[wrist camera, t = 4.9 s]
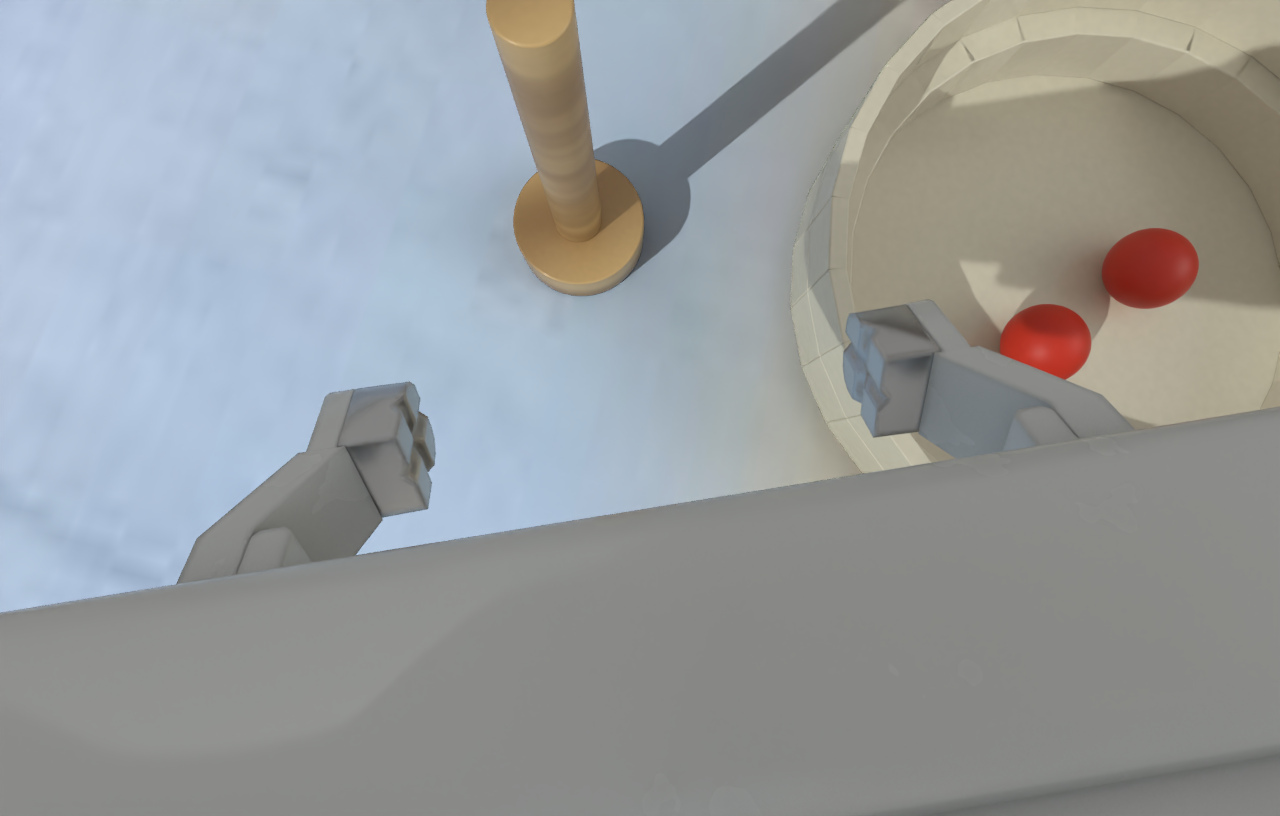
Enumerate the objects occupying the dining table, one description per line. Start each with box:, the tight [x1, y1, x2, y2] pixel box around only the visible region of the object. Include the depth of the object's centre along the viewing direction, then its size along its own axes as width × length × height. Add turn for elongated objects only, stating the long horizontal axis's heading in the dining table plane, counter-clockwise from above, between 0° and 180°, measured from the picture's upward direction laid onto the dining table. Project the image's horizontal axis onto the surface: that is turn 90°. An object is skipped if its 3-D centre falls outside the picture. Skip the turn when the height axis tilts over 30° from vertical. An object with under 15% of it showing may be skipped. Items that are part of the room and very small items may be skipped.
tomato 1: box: [1000, 304, 1092, 380], centre depth 27 cm, size 3×3×3 cm
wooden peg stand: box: [486, 0, 644, 296], centre depth 22 cm, size 5×5×15 cm
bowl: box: [790, 0, 1280, 474], centre depth 26 cm, size 21×21×6 cm
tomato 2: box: [1102, 228, 1199, 309], centre depth 27 cm, size 3×3×3 cm
